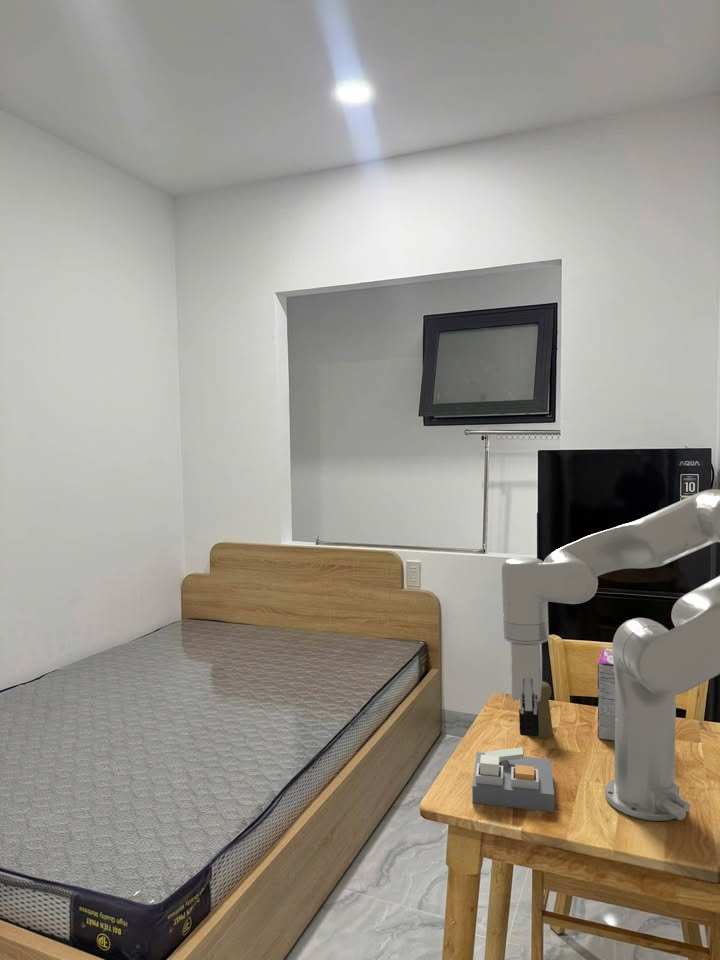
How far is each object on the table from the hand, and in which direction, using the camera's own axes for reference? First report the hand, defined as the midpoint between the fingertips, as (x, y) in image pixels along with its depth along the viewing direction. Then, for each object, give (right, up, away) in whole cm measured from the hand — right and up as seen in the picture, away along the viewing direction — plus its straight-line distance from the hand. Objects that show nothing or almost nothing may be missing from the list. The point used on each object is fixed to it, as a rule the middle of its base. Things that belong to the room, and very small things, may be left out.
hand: (529, 733), depth 117 cm
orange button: (-1, -8, +1) cm, 8 cm away
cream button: (-7, -7, +2) cm, 10 cm away
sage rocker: (-3, -7, +7) cm, 10 cm away
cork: (+9, -10, +27) cm, 30 cm away
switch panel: (-2, -11, +4) cm, 12 cm away
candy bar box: (+25, -10, +28) cm, 38 cm away
